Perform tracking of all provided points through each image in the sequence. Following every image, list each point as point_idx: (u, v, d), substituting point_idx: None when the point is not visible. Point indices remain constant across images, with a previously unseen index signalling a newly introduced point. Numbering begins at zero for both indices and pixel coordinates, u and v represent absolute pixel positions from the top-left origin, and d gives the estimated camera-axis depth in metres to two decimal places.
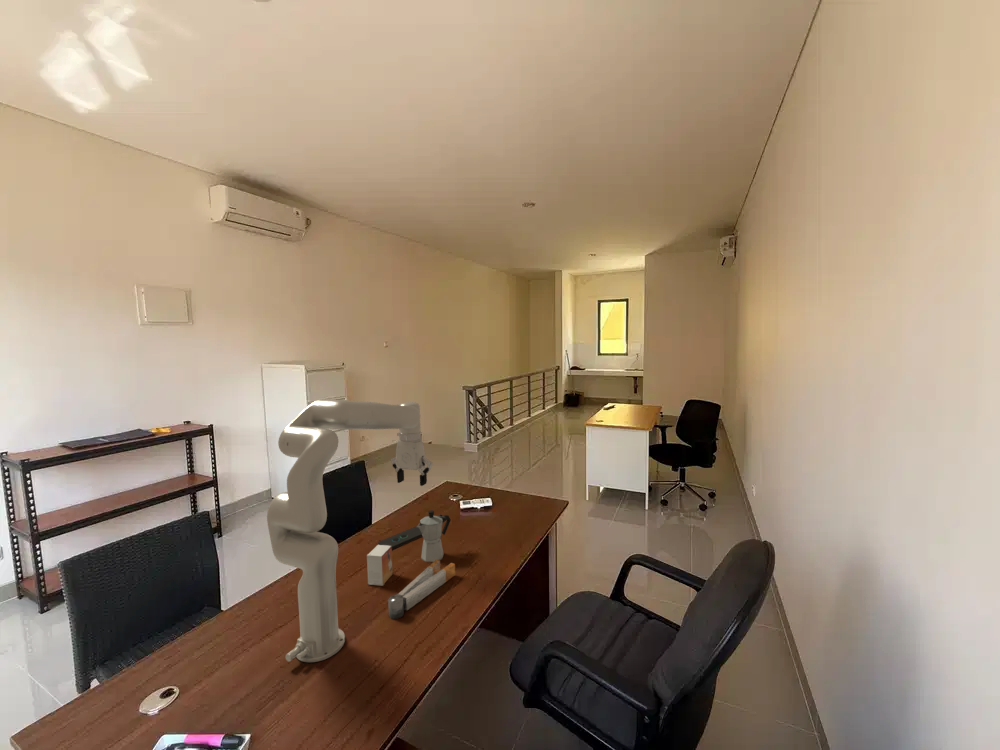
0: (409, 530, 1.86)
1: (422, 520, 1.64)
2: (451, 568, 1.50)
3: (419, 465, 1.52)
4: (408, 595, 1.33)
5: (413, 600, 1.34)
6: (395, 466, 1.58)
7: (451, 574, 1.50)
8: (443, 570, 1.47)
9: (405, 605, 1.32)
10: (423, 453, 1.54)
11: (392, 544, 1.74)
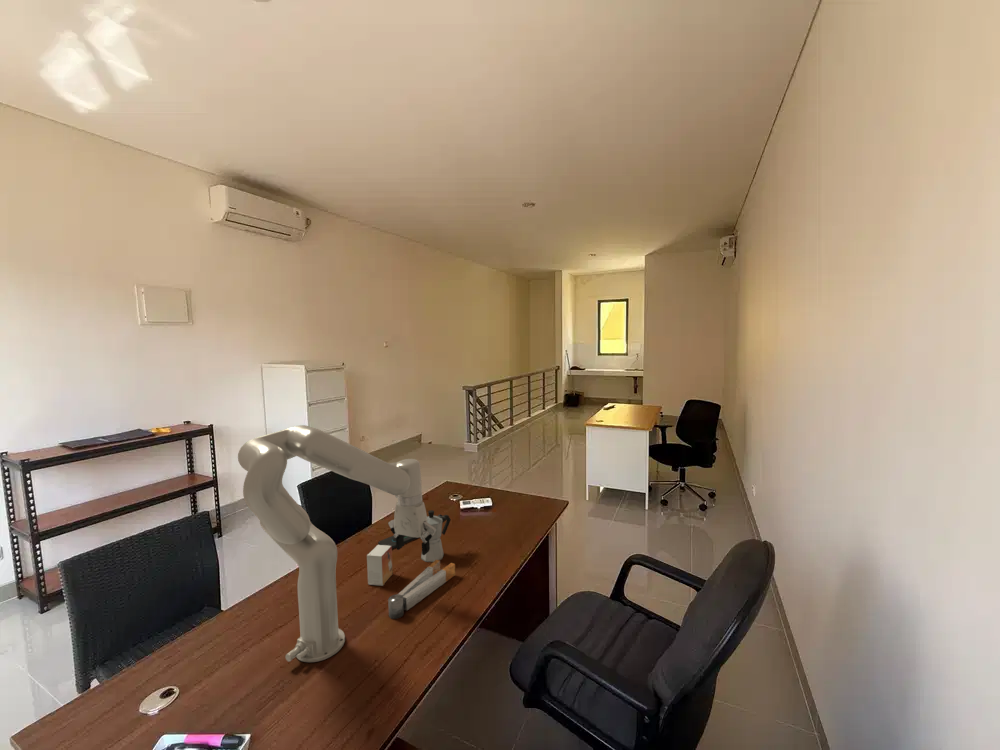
0: None
1: None
2: (451, 568, 1.50)
3: (421, 532, 1.34)
4: (408, 595, 1.33)
5: (413, 600, 1.34)
6: (394, 531, 1.39)
7: (451, 574, 1.50)
8: (443, 570, 1.47)
9: (405, 605, 1.32)
10: (425, 517, 1.36)
11: (392, 544, 1.74)
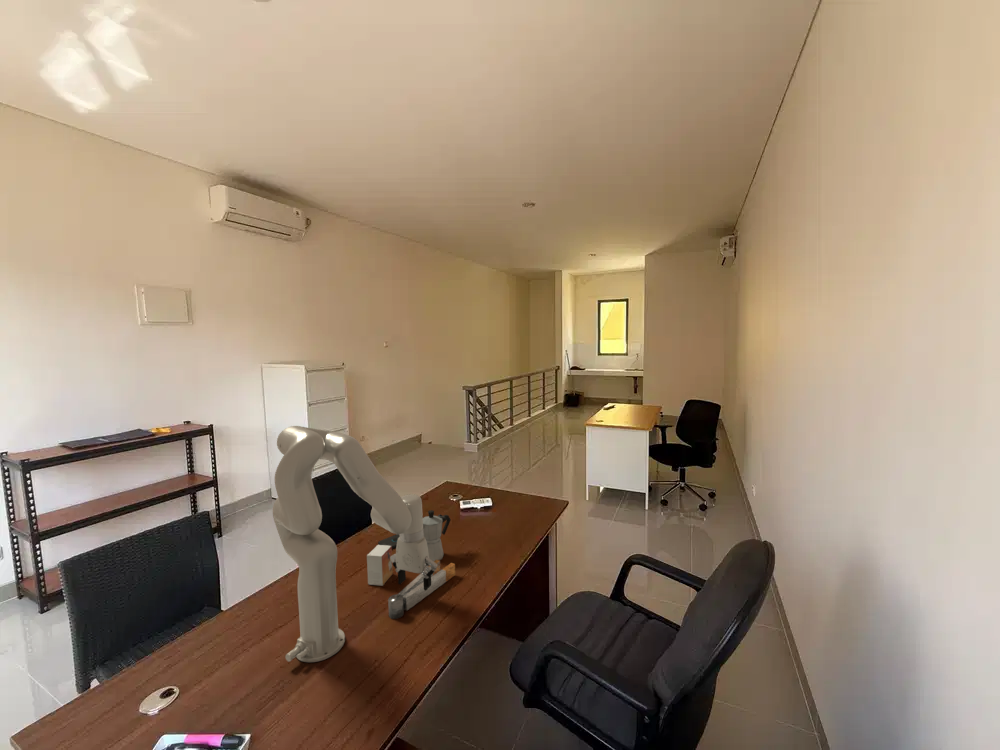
0: None
1: None
2: (451, 568, 1.50)
3: (422, 568, 1.35)
4: (408, 595, 1.33)
5: (413, 600, 1.34)
6: (395, 565, 1.41)
7: (451, 574, 1.50)
8: (443, 570, 1.47)
9: (405, 605, 1.32)
10: (427, 553, 1.37)
11: (392, 544, 1.74)
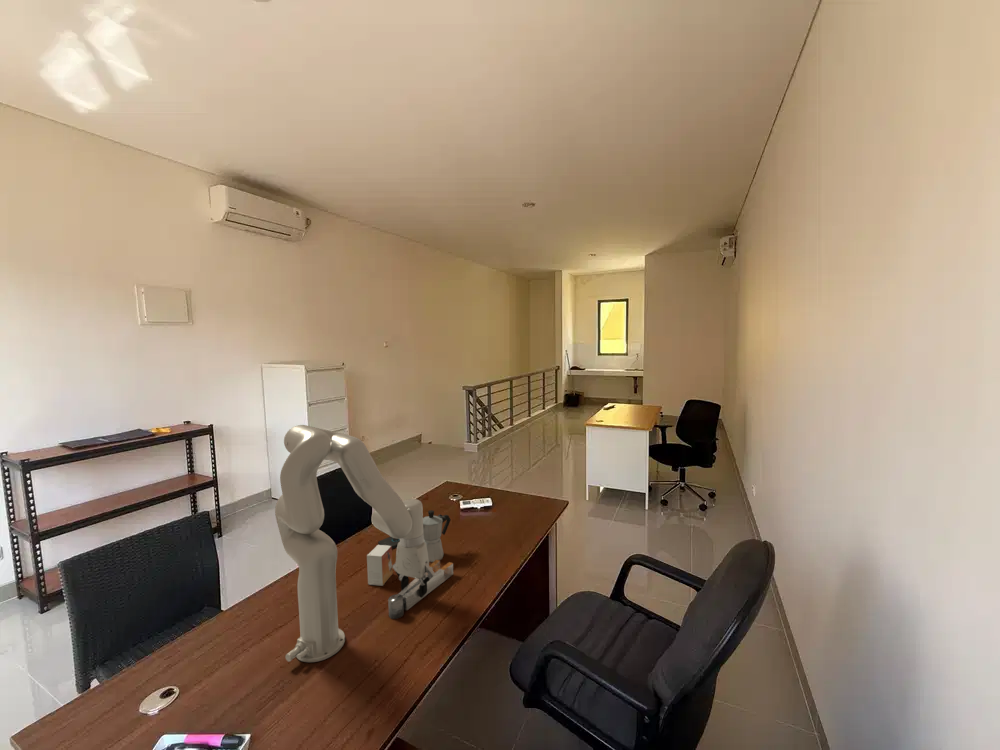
0: None
1: None
2: (449, 567, 1.50)
3: (422, 573, 1.35)
4: (408, 595, 1.33)
5: (413, 600, 1.35)
6: None
7: (449, 573, 1.50)
8: (441, 569, 1.48)
9: (405, 605, 1.32)
10: (426, 558, 1.37)
11: (392, 544, 1.74)
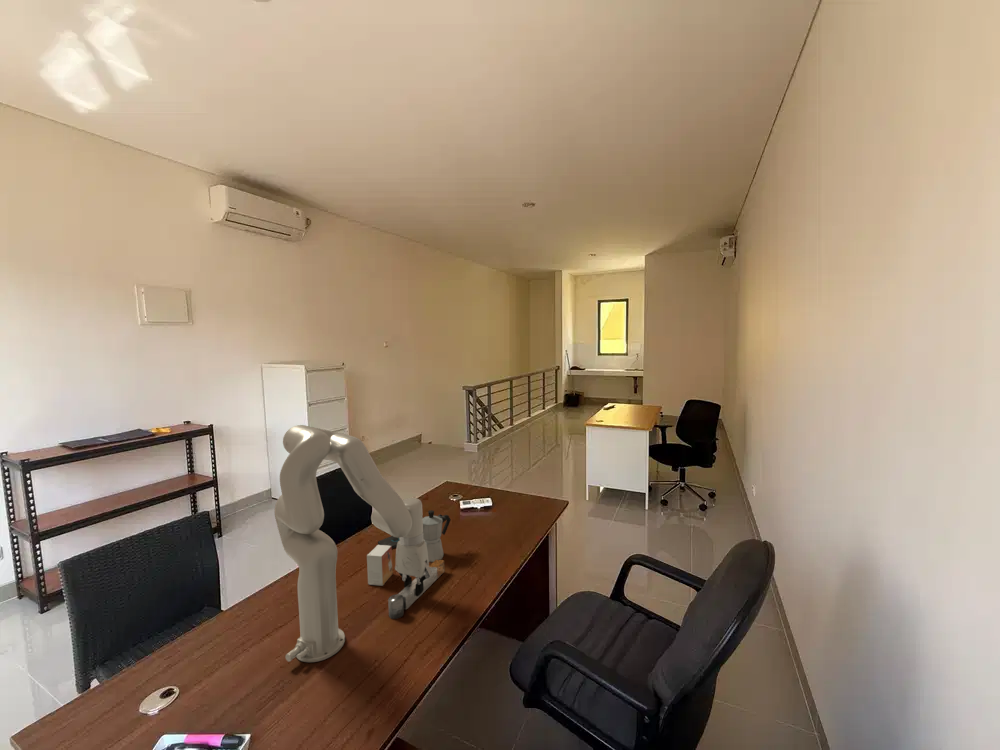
0: None
1: None
2: (441, 565, 1.52)
3: (422, 572, 1.35)
4: (407, 594, 1.34)
5: (411, 598, 1.35)
6: None
7: (441, 571, 1.52)
8: (434, 567, 1.49)
9: (404, 604, 1.33)
10: (426, 557, 1.37)
11: (391, 544, 1.74)
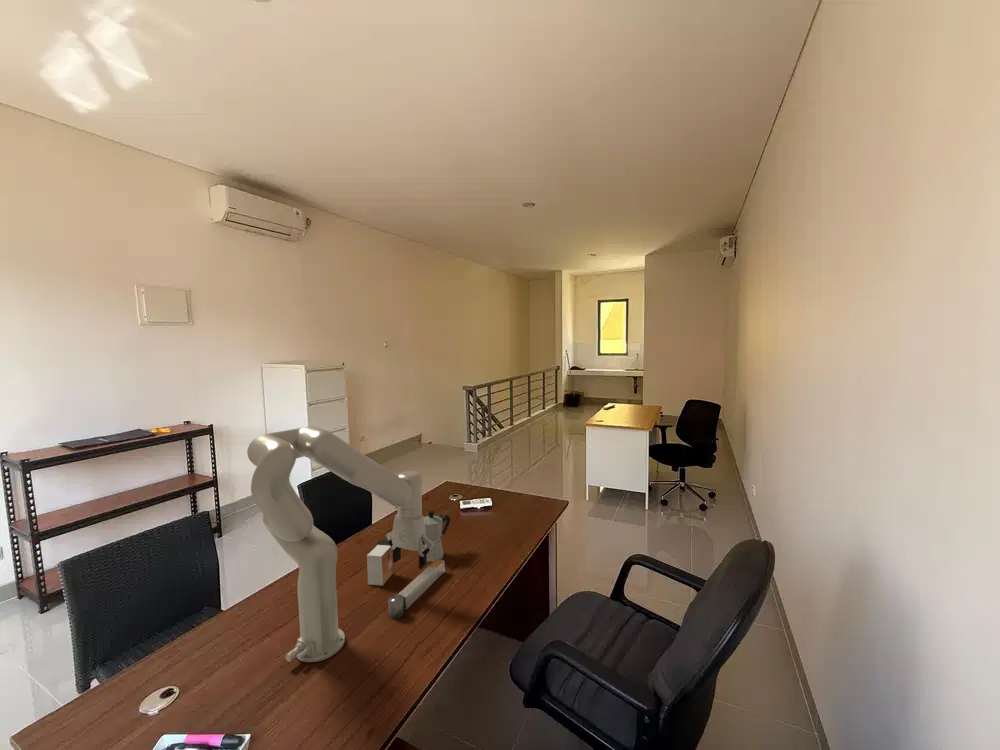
0: None
1: None
2: (441, 565, 1.52)
3: (418, 546, 1.33)
4: (407, 594, 1.34)
5: (411, 598, 1.35)
6: (391, 543, 1.39)
7: (441, 571, 1.52)
8: (435, 567, 1.49)
9: (404, 604, 1.33)
10: (424, 531, 1.36)
11: None
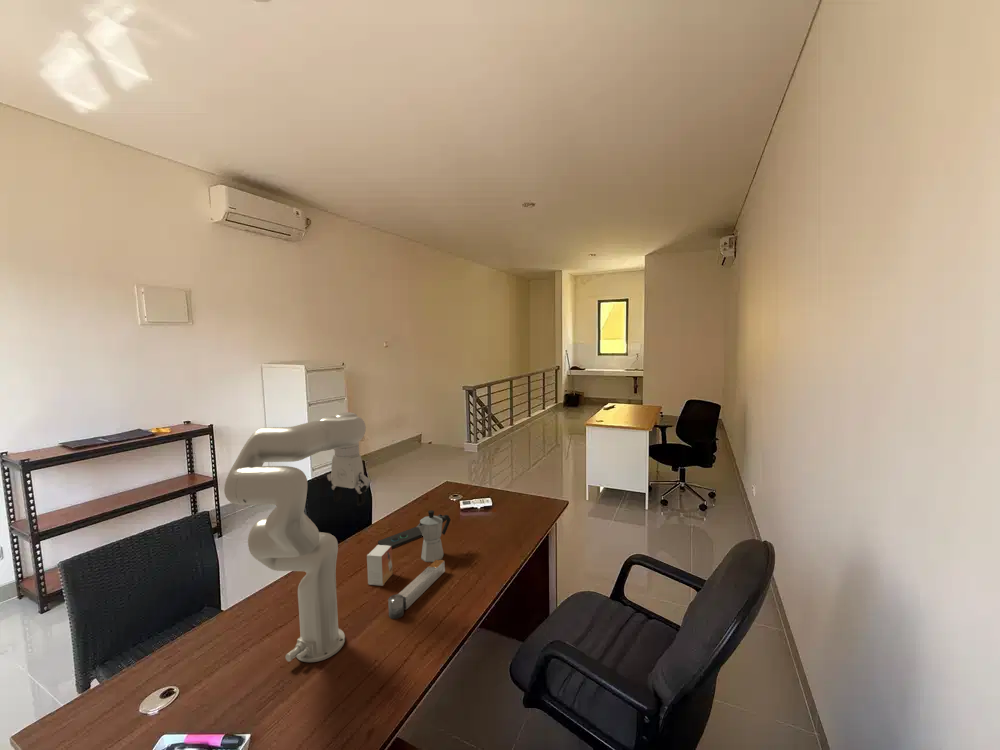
0: (410, 530, 1.86)
1: (422, 520, 1.63)
2: (441, 565, 1.52)
3: (355, 483, 1.37)
4: (407, 594, 1.34)
5: (411, 598, 1.35)
6: (332, 483, 1.43)
7: (441, 571, 1.52)
8: (435, 567, 1.49)
9: (404, 604, 1.33)
10: (361, 469, 1.39)
11: (391, 544, 1.74)
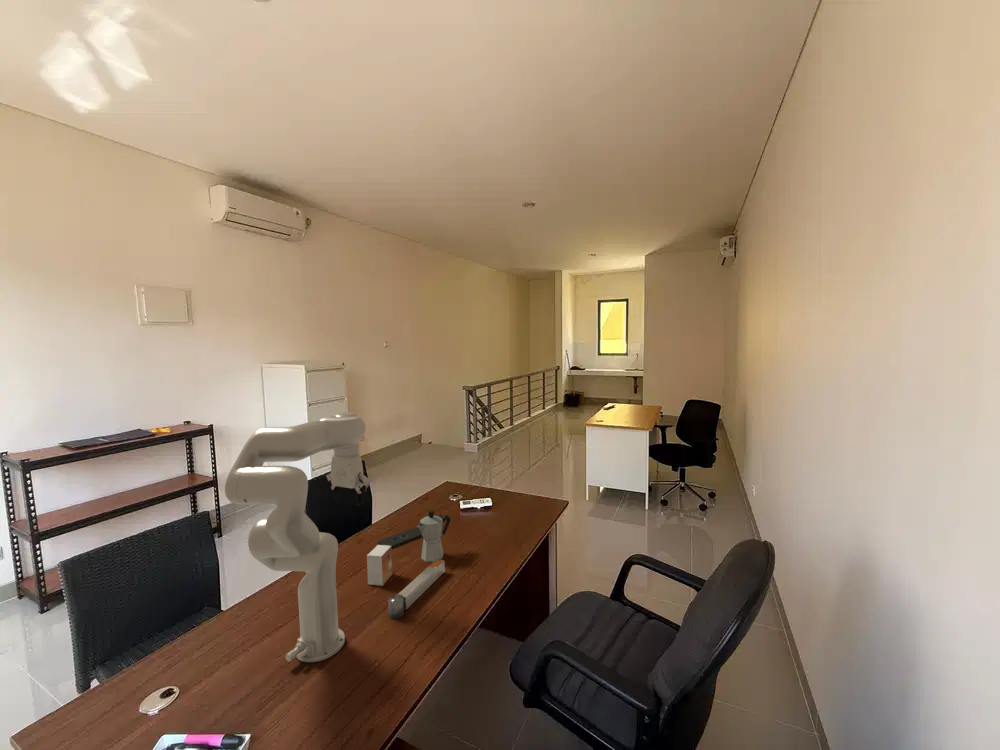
0: (410, 530, 1.86)
1: (422, 520, 1.63)
2: (441, 565, 1.52)
3: (355, 483, 1.37)
4: (407, 594, 1.34)
5: (411, 598, 1.35)
6: (331, 483, 1.43)
7: (441, 571, 1.52)
8: (435, 567, 1.49)
9: (404, 604, 1.33)
10: (360, 469, 1.39)
11: (391, 544, 1.74)
